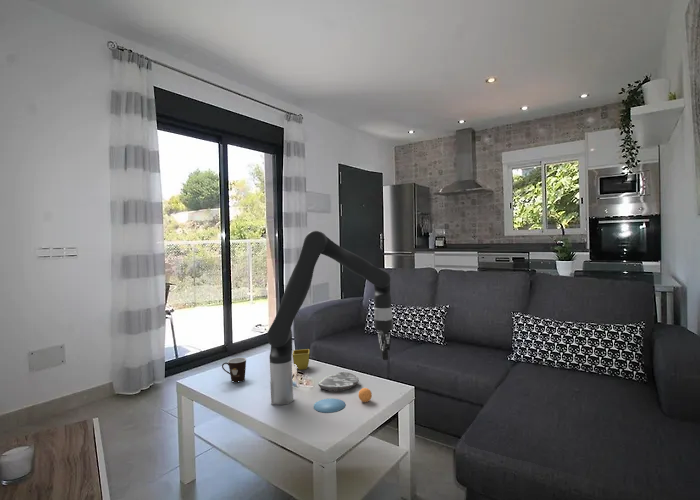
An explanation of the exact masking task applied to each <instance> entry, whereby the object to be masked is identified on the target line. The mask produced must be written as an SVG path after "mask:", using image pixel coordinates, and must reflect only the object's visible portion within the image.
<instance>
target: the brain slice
mask: <svg viewBox="0 0 700 500" xmlns="http://www.w3.org/2000/svg"><path fill="white" fill-rule="evenodd" d="M358 382H360V381H359V377H357V376H356V374H355V375H354V374H353V373H350V372H346V371H345V372H344V371H343V372H342V371H341V372H338V373H335V374H331V375H327V376H324V377H323V378H322V380H321V381H319V382H318V387H319V388H320V389H322V390H326V391H327V392H328V391H329V392H330V393H332V392H340V391H346V390H350V389H351V388H353V387H355V386H356V385H357V384H358Z"/></svg>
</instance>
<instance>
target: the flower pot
mask: <svg viewBox="0 0 700 500" xmlns="http://www.w3.org/2000/svg"><path fill="white" fill-rule="evenodd" d="M292 363H293V365H294V364H296V365H297V367H298V369H299V370H298V371H300V370H307V369H308V367H309V363H310V349H309V348H307V349H306V348H305V349H294V350H292Z"/></svg>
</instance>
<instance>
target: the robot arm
mask: <svg viewBox="0 0 700 500" xmlns="http://www.w3.org/2000/svg"><path fill="white" fill-rule="evenodd" d="M321 255H324V256H325V257H328V258H330V259H332V260H334V261H336V262H337V263H339V264H340V265H341V266H343V267H344V268H345V269H347V270H349V271H350V272H352V273H354V274H355V275H357V276H360V277H362V278H363V279H365V280H367V282H369V283H371V285H374V287H373V288H374V299H373V300H374V309H373V310H374V311H373V315H374V317H373V319H374V329H375V331H378V333H377V337H378V338H377V340H378V346H379V348H380V355H381V356H380V357H381V359H382V360H383V361H387V360H389V351H390V349H391V343H392V340H391V337H390V336H391V335H390V333H389V331H392V330H393V329H394V327H393V325H394V324H393V310H392V297H391V296H392V295H391V276H390V273H389V271H387V270H385V269H381V268H380V267H378V266H375V265H373V264H372V263H371V262H370V261H368V260H367V259H365V258H363V257H362V256H359V255H358V254H356V253H353V252H352V251H349V250H348V249H345V248H343V247H342V246H341V245H339V244H337V243H335V242H334V241H333V240H331V239H330V238H329V237H328V236H327V235H326V234H325V233H324V232H322V231H320V230H312V231H309V232H308V233H307V234H306V236H305V237H304V240H303V244H302V247H301V251H300V254H299V258H298V260H297V262H296V264H295V267H294V269H293V270H292V272H291V275H290V277H289V279H288V282H287V284H286V286H285V289H284V292H283V294H282V295H283V296H282V298H281V301H280V304H279V308H278V311H277V313H276V316H275V318H274V319H273V321H272V323H271V325H270V326H269V328H268V329H267V330H268V331H267V334H266V339H267V343H268V344H269V345H270V352H269V371H270V372H269V374H270V381H269V383H270V386H269V387H270V403H271V404H270V405H277V406H281V405H288V404H291V403H292V402H293V401H294V384H293V383H294V382H293V331H292V325H293V323H294V320H295V317H296V315H297V314H298V313H299V311H300V309H301V307H302V305H303V304H304V301H305V300H306V298H307V296H308V293H309V290H310V288H311V284H312V281H313V276H314V271H315V267H316V264H317V262H318V260H319V257H321Z"/></svg>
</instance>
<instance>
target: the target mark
mask: <svg viewBox="0 0 700 500" xmlns="http://www.w3.org/2000/svg"><path fill="white" fill-rule="evenodd" d="M345 407H346V402H345V401H344V400H342V399H341V398H340V399H339V398H331V397H330V398H324V399H320V400H318V401H316V402H315V403H314V404H313V409H314V411H316V412H319V413H325V414H326V413H327V414H329V413H331V414H332V413H336V412H340V411H341V410H343V409H344V408H345Z"/></svg>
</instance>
